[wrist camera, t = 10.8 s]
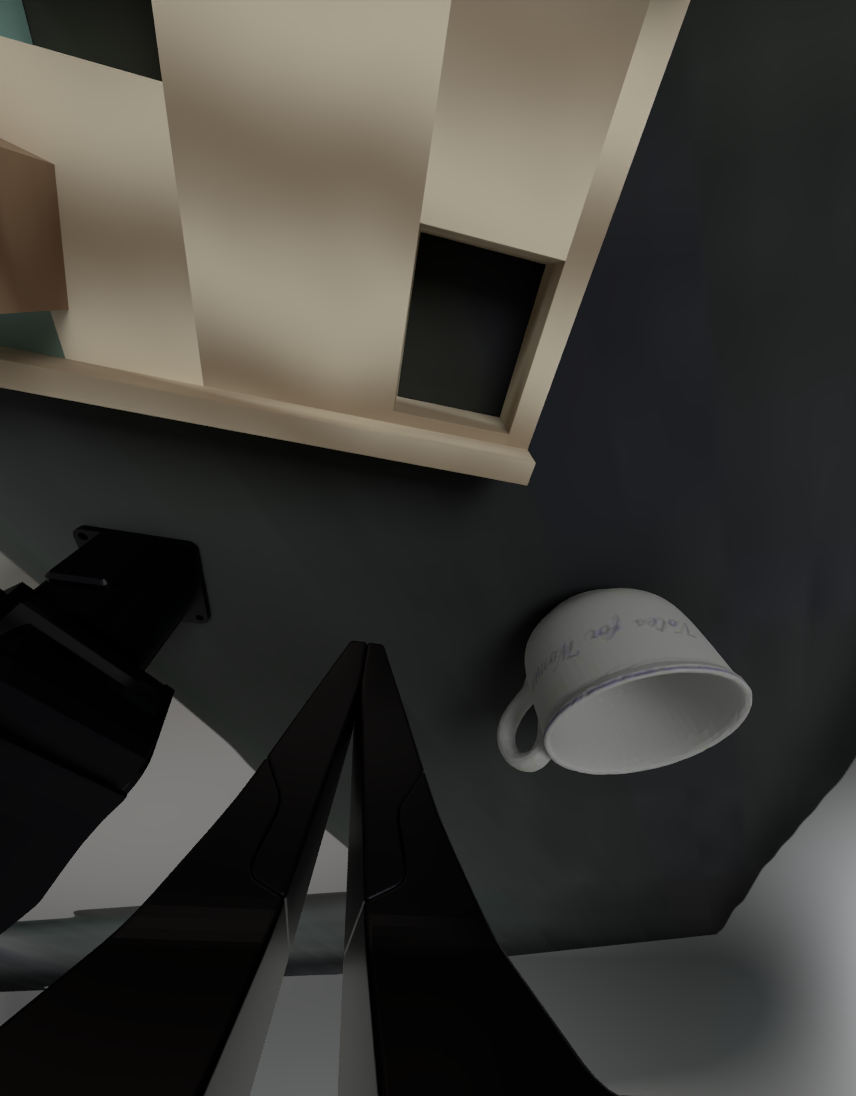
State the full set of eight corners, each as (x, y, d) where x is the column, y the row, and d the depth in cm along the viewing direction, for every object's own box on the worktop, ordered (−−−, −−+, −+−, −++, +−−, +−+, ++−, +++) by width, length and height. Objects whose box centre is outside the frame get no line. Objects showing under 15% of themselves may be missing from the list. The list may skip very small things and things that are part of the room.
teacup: (658, 537, 22) (756, 643, 16) (682, 644, 28) (763, 756, 21) (448, 618, 26) (455, 730, 19) (506, 698, 31) (528, 807, 25)
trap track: (509, 450, 19) (529, 490, 15) (-73, 336, 16) (-222, 351, 12) (678, -54, 11) (814, -237, 7) (-487, -499, 8) (-1366, -1255, 4)
